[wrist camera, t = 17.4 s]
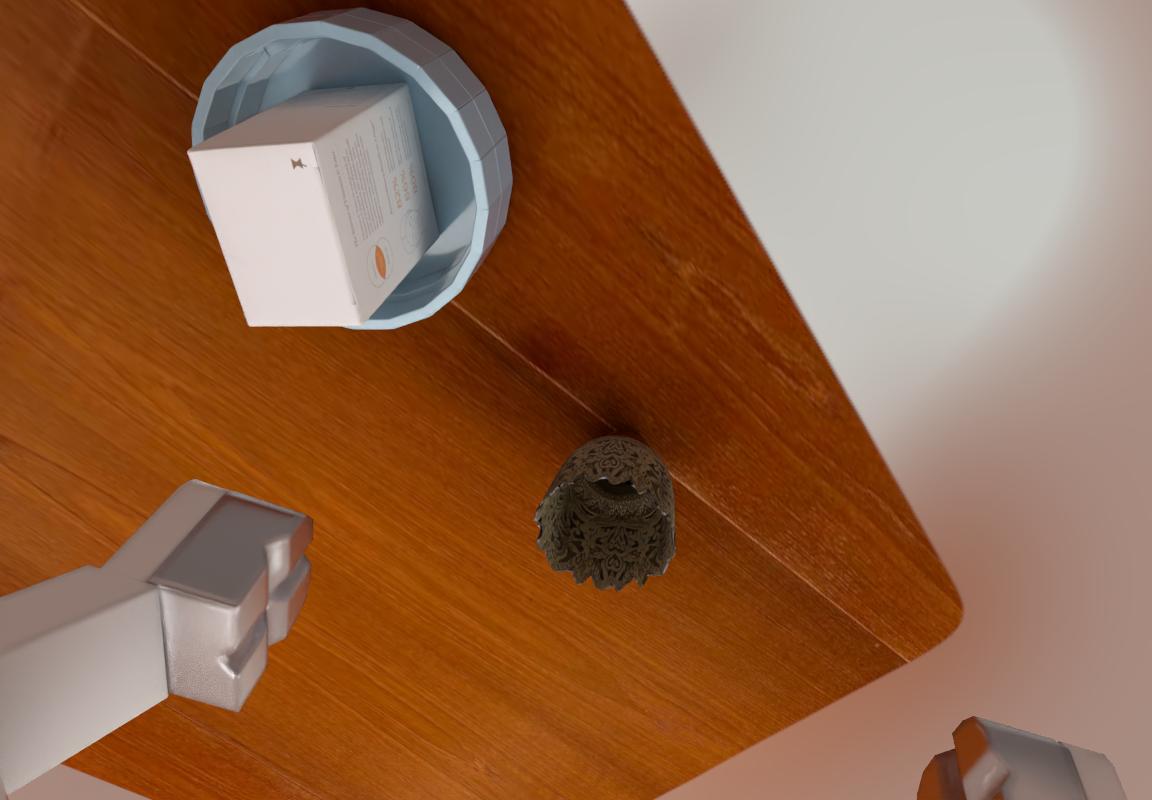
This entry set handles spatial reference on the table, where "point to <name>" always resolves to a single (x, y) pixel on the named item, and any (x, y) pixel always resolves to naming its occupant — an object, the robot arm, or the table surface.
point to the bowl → (443, 117)
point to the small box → (319, 204)
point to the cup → (609, 513)
